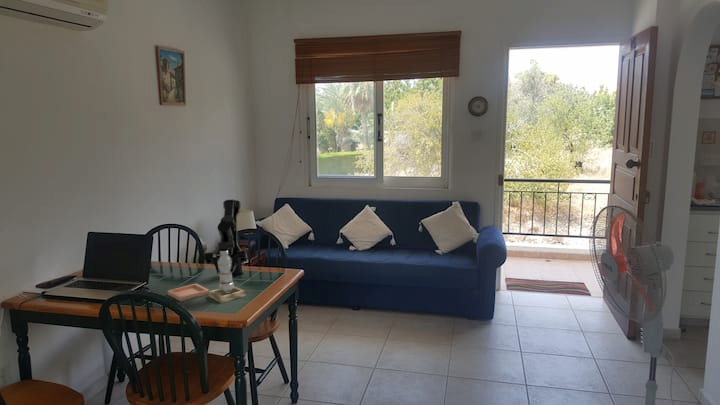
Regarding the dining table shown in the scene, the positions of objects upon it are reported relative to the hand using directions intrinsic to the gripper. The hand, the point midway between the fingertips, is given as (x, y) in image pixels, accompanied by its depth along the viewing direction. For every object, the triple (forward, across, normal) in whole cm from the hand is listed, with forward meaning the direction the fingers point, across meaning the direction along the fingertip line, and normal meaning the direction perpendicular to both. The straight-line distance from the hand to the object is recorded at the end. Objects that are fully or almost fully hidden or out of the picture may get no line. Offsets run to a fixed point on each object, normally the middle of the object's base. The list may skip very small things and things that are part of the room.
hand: (224, 273), depth 220 cm
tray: (+3, -18, +14) cm, 23 cm away
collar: (+7, 0, +9) cm, 11 cm away
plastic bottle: (+6, 0, +8) cm, 10 cm away
